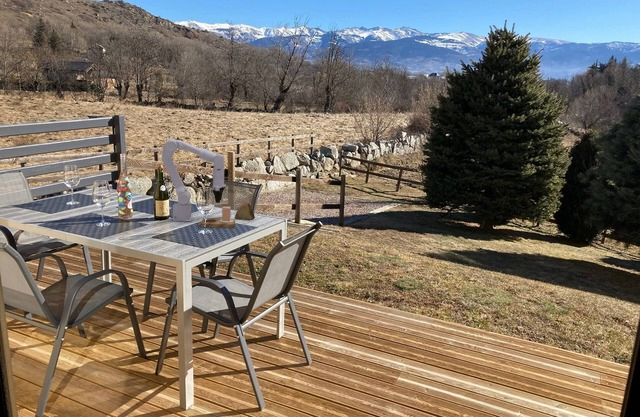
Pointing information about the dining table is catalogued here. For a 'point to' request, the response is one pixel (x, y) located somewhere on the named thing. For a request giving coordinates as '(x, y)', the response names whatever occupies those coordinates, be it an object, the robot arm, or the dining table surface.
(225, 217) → the terracotta block
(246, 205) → the rock
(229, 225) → the walnut board
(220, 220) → the cream disc
